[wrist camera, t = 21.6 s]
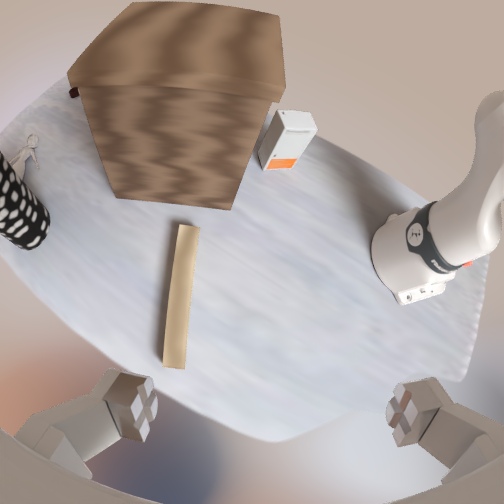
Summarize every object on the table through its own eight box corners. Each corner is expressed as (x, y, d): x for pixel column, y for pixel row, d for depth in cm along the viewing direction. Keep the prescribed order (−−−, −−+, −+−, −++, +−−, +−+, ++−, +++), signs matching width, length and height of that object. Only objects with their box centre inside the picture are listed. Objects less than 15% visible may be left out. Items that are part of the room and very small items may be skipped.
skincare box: (262, 171, 48) (283, 128, 37) (256, 153, 50) (275, 108, 38) (293, 170, 50) (319, 129, 39) (286, 152, 51) (310, 110, 40)
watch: (74, 103, 45) (70, 92, 41) (68, 95, 45) (64, 84, 42) (103, 87, 47) (101, 75, 44) (96, 79, 48) (94, 68, 44)
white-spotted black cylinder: (8, 245, 34) (-59, 193, 15) (23, 202, 36) (-31, 136, 18) (41, 254, 35) (-29, 198, 16) (56, 207, 38) (3, 134, 19)
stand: (240, 131, 50) (279, 15, 26) (233, 213, 45) (285, 87, 20) (139, 120, 46) (132, 2, 22) (112, 200, 41) (66, 72, 16)
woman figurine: (-25, 205, 29) (13, 130, 36) (-14, 216, 33) (20, 143, 40) (14, 207, 32) (53, 127, 38) (25, 220, 36) (59, 142, 43)
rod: (198, 234, 43) (199, 227, 40) (185, 367, 36) (184, 369, 33) (179, 232, 42) (179, 224, 39) (164, 364, 36) (162, 366, 33)
